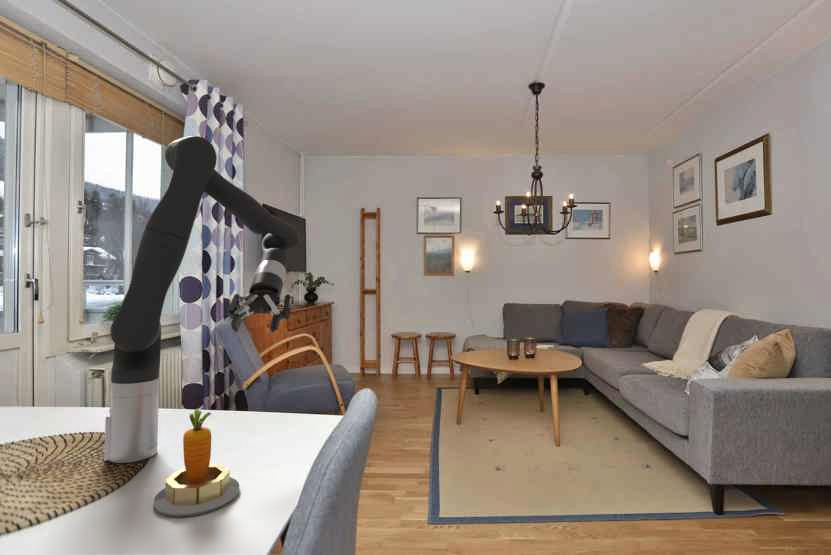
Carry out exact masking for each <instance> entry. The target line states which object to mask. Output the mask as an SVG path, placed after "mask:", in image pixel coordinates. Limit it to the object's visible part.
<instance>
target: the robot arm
mask: <svg viewBox="0 0 831 555" xmlns="http://www.w3.org/2000/svg"><path fill="white" fill-rule="evenodd" d="M164 159H165V161H166V164H167V166H168V167H169V168H170V169H171V171H172V175H171V178H170V182H169V183H168V184H169V185H168V187H167V188H166V191H165V193H164V194H163V197H162V198H161V199H160V200H159V202H158V204H156V207H155V208H154V209H153V211H152V213H151V214H150V215H149V218H148V220H147V222H146V225H145V227H144V230H143V233H142V236H141V240H140V242H139V245H138V250H137V253H136V257H135V261H134V264H133V270H132V275H131V279H130V283H129V286H128V288H127V291H126V294H125V296H124V298H123V301H122V302H121V305H120V307H119V308H118V309H119V310H118V312H117V313H116V316H115V317H114V319H113V321H112V324H111V326H110V337H111V341H112V342H113V359H112V360H113V361H112V367H111V371H110V372H111V373H110V381H111V382H110V406H109V411H110V412H109V415H107V416H106V417H105V420H104V422H105V423H104V424H105V425H104V453H103V454H104V456H103V457H104V460H103V461H109V462H111V463H115V464H124V463H125V464H126V463H134V462H138V461H144V460H145V459H146V460H147V459H149V458H151V457H153V456H155V455H156V454H157V453H158V439H159V438H158V437H159V435H158V432H159V401H160V400H159V398H160V397H159V395H160V391H159V390H160V388H159V387H160V369H161V368H160V367H161V353H162V352H161V350H162V348H161V346H162V323H161V317H162V312H163V308H164V303H165V300H166V296H167V293H168V291H169V289H170V286H171V285H172V283H173V280H174V278H175V277H176V275H177V273H178V271H179V268H180V267H181V264H182V263H183V260H184V256H185V254H186V250H187V248H188V244H189V242H190V237H191V234H192V231H193V228H194V225H195V221H196V217H197V215H198V212H199V211H198V210H199V207H200V204H201V201H202V197H203V194H204V193H205V194H206V195H207V196H209V197H210V198H212V199H213V200H214V201H216V202H217V203H218V204H220V205H221V206H222V207H223V208H224V209H225V210H227V211H228V212H229V214H232V216H233V217H235V218H236V219H237V220H238V221H239V222H241V224H242V225H244V227H245V228H247V229H248V230H249V231H251V232H252V233H253V234H255V235H263V234H266V235H265V236H264V237H263V239H262V241H261V259H260V261H259V262H260V263H259V265H258V267H257V269H256V270H255V273H254V276H253V279H252V282H251V284H250V286H249V287H250V288H249V291H248V294H246V296H240V294H239V293H235V294H233V297H232V299H231V301H230V304H229V306H228V308H227V310H226V311H227V314H228V316H229V318H230V319H232V320H231V324H230V325H231V328H232V330H233V331H234V332H235V333H237V332H239V329H240V327H241V324H242V321H243V319H244V318H246V317H249V316H250V315H252V314H259V313H263V314H268V312H269V313H270V315H272V318H271V321H270V325H269V328H270V333H275V332H276V331H278V329H279V328H280V323H281V321H282V319H285V320H288V319H290V315H291V308H292V303H293V302H292V298H291V295H290V294H286V295H285V296H282V291H283V287H284V285H285V283H286V282H285V281H286V272H287V270H288V264H289V255H288V252H291V251H292V250H294V249H296V248H297V247H298V246H299V245H300V242H301V236H300V235H299V232H298V231H297V229H296V228H295V227H294V226H293V225H291V224H290V223H288V222H286V221H285V220H282V219H281V218H280V217H277V216H276V215H274V214H271V213H270V211H268V210H267V209H266V208H265V207H264V206H262V204H261V203H259V202H258V201H257V199H255V198H254V197H253V196H251V194H248V193H247V192H246V191H245V190H243V189H241V188H240V187H238V186H237V185H235V184H234V183H231V182H230V181H228V180H227V178H225V177H224V176H222V175H221V173H219V172H218V171H217V170H216V169H215V168H216V166H217V159H218V158H217V152H216V149H215V146H214V145H213V144H212V142H211V141H209V139H208V138H205V137H203V136H200V135H191V136H184V137H181V138H178V139H175V140H174V141H172V142H171V143H169V144H168V145H167V147H166V149H165V152H164ZM280 304H282V306H283V307H282V310H279V309H278V306H279V305H280ZM248 308H249V309H248Z"/></svg>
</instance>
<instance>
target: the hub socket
mask: <svg viewBox="0 0 831 555" xmlns="http://www.w3.org/2000/svg"><path fill="white" fill-rule="evenodd" d="M230 475H231V474H230V468H229V469H228V468H227V467H225V466H224V465H223V464H219V463H218V464H215V463H214V464H213V463H211V464H210V463H209V468H208V473H207V476H206V479H205V481H204V483H202V484H199V485H191V484H190V482H189V480H188V478H187V473H186V469H185V468H182V469H178V470H177V471H175V472H173V473H172V474H171V475H170V476H169V477H167V478H166V479H165V484H164V485H165V486H164V488H163V489H161V490H160V491H159V492H158V493H156V495H155V496H154V498H153V511H154V512H155V513H156V514H157V515H159V516H162V517H166V518H173V519H175V518H176V519H177V518H178V519H181V518H183V519H184V518H192V517H193V518H194V517H198V516H202V515H207V514H210V513H213V512H215V511H218V510H220V509H223V508H224V507H226V506H228V505H229V504H231V503H232V502H234V501H235V500H236V499H237V497H238V496H239V494H240V484H239V482H238V480H237V479H235V478H233V477H230Z"/></svg>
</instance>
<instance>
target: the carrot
mask: <svg viewBox="0 0 831 555" xmlns="http://www.w3.org/2000/svg"><path fill="white" fill-rule="evenodd" d="M201 415H202V410H199V409H195V410H194V411H193V413H190V414H189V419H190V420H189V421H190V422H191V425H192V428H191V429H187V430H186V431H185V432H184V433H183V439H182V442H183V444H182V445H183V462H184V469H186V473H187V478H188V480H189V482H190V484H191V485H199V484H202V483H204V481H205V479H206V476H207V473H208V468H209V464H210V462H211V452H212V432H211V429H210V428H208V427H205V426H204V427H203V423H204V421H206V419H207V418H208V417H209V416H211V415H212V413H211V412H210V411H209V412H208V411H207V413H205V414H204V415H203V416H202V417H201Z"/></svg>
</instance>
